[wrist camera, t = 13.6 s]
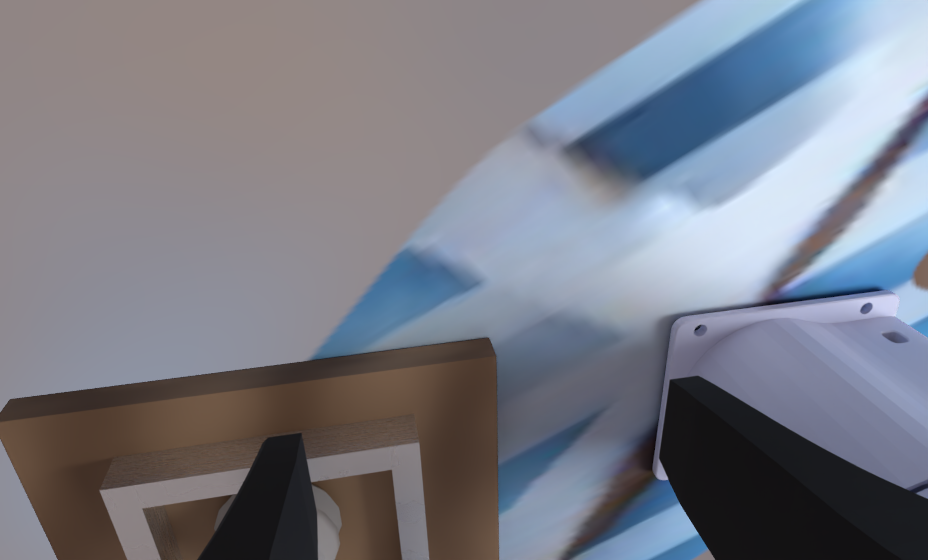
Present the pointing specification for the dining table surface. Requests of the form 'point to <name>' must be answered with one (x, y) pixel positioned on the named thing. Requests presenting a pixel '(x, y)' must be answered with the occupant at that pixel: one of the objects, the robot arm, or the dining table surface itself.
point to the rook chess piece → (326, 523)
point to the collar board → (239, 440)
